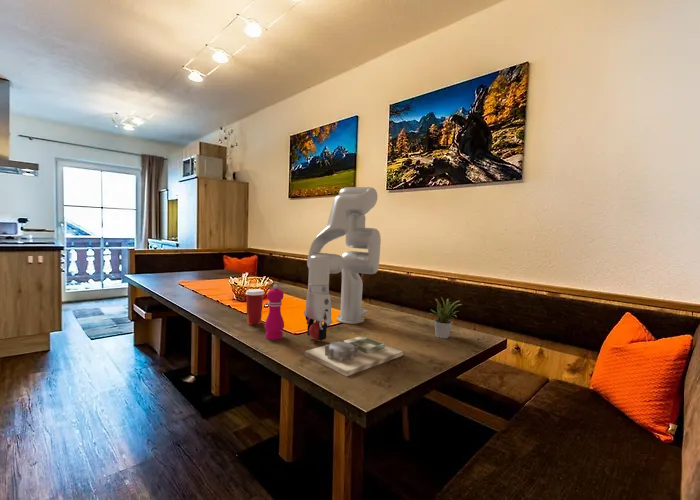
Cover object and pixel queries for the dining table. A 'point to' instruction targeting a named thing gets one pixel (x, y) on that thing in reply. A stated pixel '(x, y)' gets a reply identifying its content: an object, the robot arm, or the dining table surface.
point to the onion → (314, 330)
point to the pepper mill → (274, 314)
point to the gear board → (353, 354)
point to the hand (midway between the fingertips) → (316, 336)
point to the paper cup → (254, 306)
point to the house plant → (443, 318)
